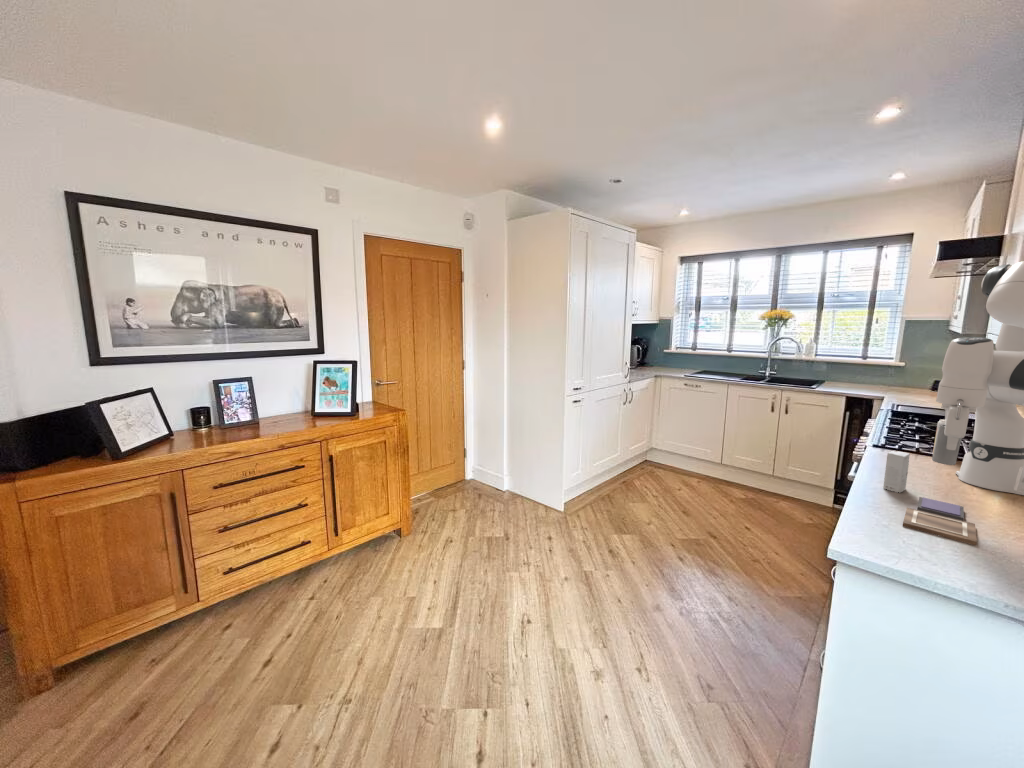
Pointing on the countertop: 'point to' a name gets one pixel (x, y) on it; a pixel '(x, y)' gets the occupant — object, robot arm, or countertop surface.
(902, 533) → the countertop surface
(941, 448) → the planter
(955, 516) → the ink pad
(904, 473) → the skincare box
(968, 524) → the marked board
